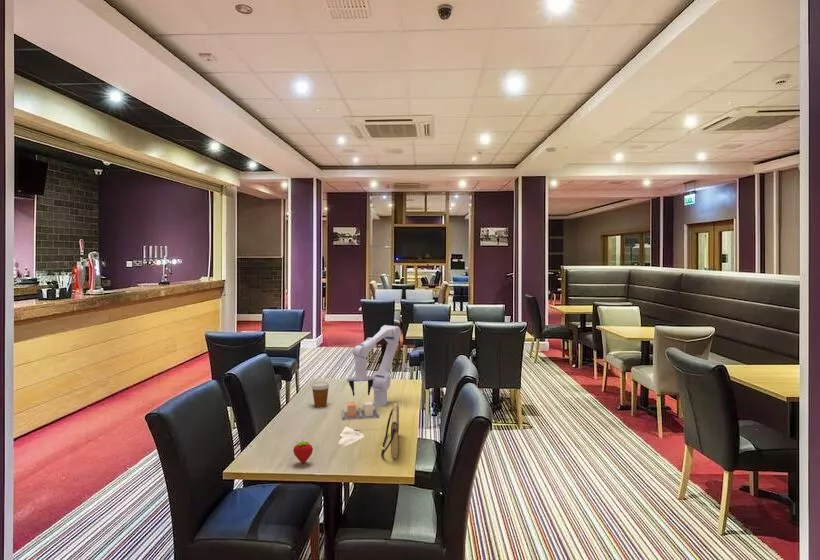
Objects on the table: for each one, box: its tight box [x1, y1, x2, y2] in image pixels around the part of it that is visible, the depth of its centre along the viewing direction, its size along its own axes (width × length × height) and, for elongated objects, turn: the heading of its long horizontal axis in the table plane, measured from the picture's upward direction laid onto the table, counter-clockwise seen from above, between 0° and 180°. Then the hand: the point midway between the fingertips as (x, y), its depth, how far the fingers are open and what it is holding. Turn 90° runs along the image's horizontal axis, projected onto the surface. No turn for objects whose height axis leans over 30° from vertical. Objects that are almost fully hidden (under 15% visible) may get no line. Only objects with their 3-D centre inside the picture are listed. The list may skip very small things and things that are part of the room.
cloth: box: [338, 426, 365, 448], centre depth 207 cm, size 26×14×2 cm, turn 170°
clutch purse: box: [380, 401, 400, 460], centre depth 194 cm, size 30×7×15 cm, turn 1°
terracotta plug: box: [346, 401, 357, 418], centre depth 231 cm, size 6×4×6 cm, turn 9°
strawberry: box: [293, 438, 314, 464], centre depth 179 cm, size 6×8×10 cm
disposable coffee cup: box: [311, 381, 330, 409], centre depth 250 cm, size 10×10×12 cm
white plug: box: [363, 400, 374, 417], centre depth 233 cm, size 6×4×6 cm, turn 10°
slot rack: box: [341, 406, 380, 421], centre depth 232 cm, size 12×18×2 cm, turn 100°
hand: (361, 395), depth 238 cm, fingers open, 7 cm apart
